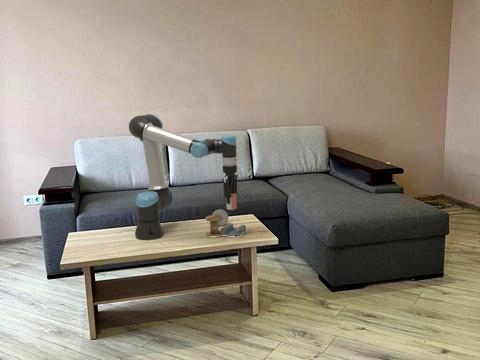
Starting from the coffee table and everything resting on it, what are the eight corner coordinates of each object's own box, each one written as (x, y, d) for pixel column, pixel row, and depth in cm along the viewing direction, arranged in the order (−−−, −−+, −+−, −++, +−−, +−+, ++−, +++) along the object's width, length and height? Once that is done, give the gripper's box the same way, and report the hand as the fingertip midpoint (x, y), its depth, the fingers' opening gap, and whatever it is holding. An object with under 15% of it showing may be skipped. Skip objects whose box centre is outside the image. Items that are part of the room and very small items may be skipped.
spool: (203, 236, 269) (202, 218, 267) (210, 231, 277) (210, 214, 275) (218, 238, 265) (217, 220, 263) (225, 233, 273) (225, 215, 271)
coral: (211, 216, 283) (210, 205, 291) (213, 230, 289) (213, 219, 297) (227, 214, 283) (227, 203, 291) (229, 228, 289) (229, 217, 297)
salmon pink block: (226, 209, 266) (226, 194, 264) (230, 207, 269) (229, 193, 268) (233, 209, 264) (232, 195, 263) (236, 208, 268) (236, 193, 266)
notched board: (220, 236, 269) (220, 228, 268) (229, 230, 279) (229, 223, 278) (237, 238, 265) (237, 230, 264) (246, 232, 275) (245, 225, 274)
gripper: (229, 167, 253) (230, 212, 258) (242, 162, 269) (244, 205, 273) (215, 167, 256) (217, 211, 261) (230, 162, 272) (231, 204, 276)
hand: (231, 208), depth 267 cm, fingers closed on salmon pink block, 4 cm apart
